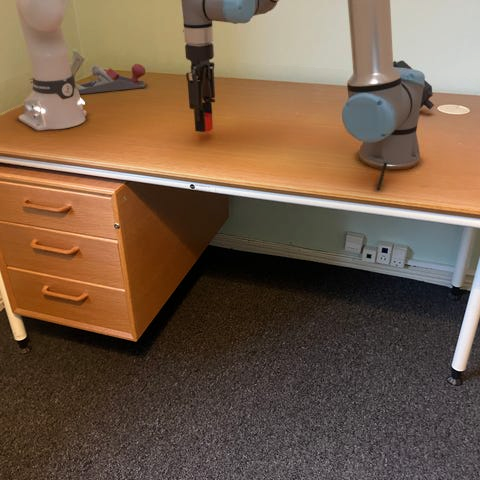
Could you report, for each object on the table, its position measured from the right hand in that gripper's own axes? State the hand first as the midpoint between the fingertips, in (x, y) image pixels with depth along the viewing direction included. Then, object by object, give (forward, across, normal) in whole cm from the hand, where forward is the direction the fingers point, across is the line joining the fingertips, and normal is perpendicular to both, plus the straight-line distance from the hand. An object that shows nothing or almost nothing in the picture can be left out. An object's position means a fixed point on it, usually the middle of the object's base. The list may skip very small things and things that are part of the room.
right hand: (204, 127), depth 152 cm
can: (0, 0, 0) cm, 0 cm away
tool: (+3, -43, +50) cm, 66 cm away
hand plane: (+3, -34, -56) cm, 65 cm away
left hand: (-27, +42, -40) cm, 64 cm away
